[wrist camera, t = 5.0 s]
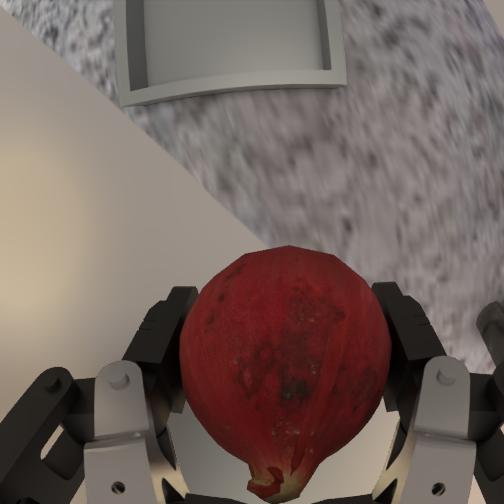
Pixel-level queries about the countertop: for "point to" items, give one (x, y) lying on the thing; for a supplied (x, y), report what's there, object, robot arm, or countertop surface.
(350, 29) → the countertop surface
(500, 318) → the beverage cup
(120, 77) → the tray
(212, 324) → the onion
